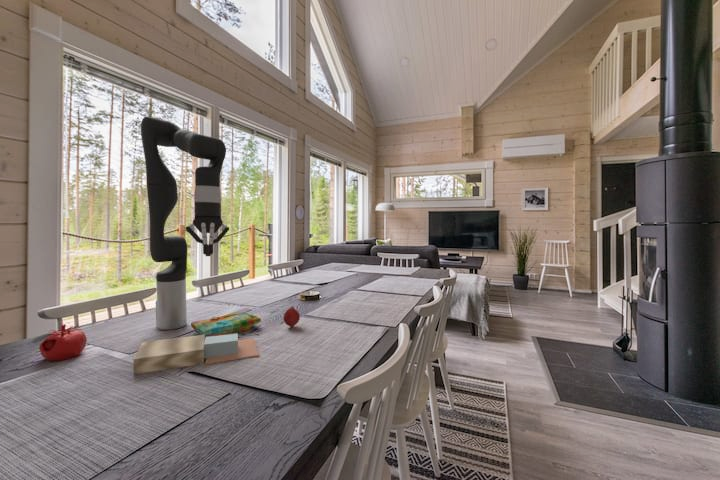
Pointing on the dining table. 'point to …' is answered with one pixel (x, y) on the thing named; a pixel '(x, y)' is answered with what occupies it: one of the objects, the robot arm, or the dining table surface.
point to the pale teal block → (221, 345)
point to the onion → (291, 317)
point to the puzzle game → (225, 324)
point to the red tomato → (63, 344)
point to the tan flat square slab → (244, 351)
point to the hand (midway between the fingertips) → (208, 255)
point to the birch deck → (169, 354)
